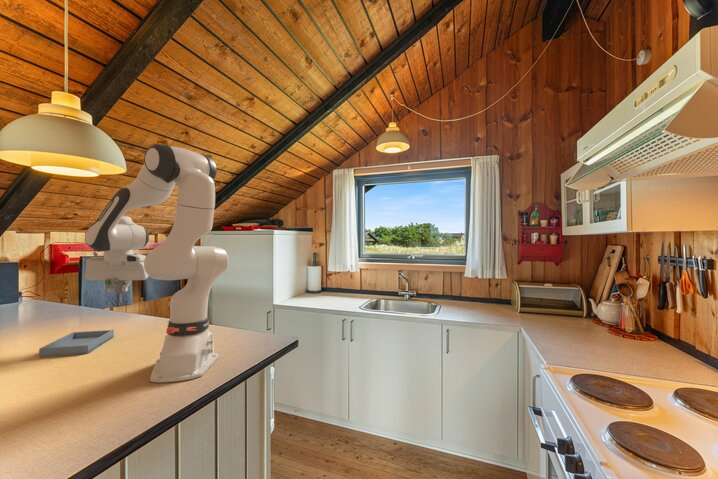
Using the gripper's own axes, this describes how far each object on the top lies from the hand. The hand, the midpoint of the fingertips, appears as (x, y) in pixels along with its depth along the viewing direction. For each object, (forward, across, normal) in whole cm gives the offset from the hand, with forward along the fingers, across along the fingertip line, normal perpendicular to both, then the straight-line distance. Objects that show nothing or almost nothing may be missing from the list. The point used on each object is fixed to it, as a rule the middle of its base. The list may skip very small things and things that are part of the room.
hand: (117, 291), depth 117 cm
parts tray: (+20, -10, -4) cm, 22 cm away
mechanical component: (+5, 0, 0) cm, 5 cm away
